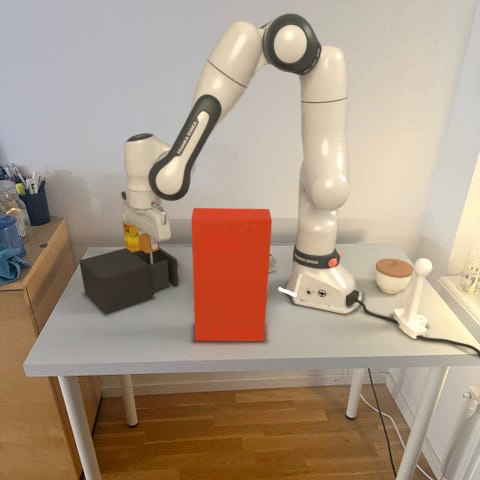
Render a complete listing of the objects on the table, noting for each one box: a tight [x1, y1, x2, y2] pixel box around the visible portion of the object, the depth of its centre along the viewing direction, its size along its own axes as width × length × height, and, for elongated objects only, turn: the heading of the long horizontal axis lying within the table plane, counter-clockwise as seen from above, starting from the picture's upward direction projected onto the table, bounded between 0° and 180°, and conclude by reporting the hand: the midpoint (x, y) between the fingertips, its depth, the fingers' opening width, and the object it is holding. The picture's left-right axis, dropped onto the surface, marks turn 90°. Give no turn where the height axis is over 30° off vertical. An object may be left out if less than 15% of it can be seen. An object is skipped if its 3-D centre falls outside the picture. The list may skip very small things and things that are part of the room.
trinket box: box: [374, 258, 414, 295], centre depth 139 cm, size 11×11×9 cm
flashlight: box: [268, 253, 278, 273], centre depth 153 cm, size 15×5×5 cm, turn 25°
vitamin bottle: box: [121, 210, 141, 252], centre depth 153 cm, size 6×6×15 cm
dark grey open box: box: [78, 247, 153, 315], centre depth 131 cm, size 14×14×11 cm
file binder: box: [190, 207, 273, 342], centre depth 111 cm, size 8×17×32 cm, turn 92°
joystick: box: [392, 257, 433, 339], centre depth 119 cm, size 11×8×20 cm
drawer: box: [132, 246, 185, 293], centre depth 137 cm, size 17×13×9 cm
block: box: [138, 233, 160, 254], centre depth 132 cm, size 4×4×4 cm
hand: (148, 245), depth 132 cm, fingers closed on block, 4 cm apart
